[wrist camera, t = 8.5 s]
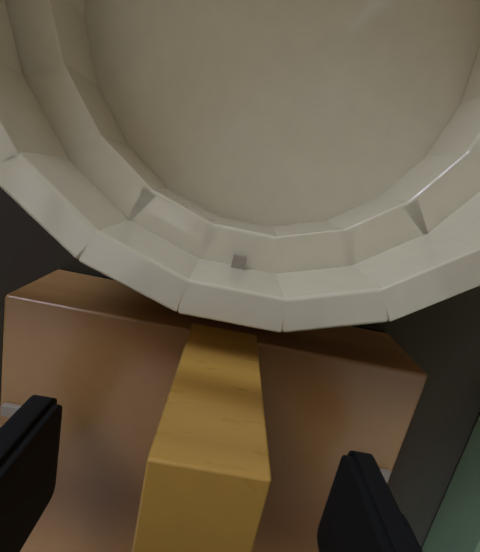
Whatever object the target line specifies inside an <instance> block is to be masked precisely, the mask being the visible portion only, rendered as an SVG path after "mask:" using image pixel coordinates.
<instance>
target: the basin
mask: <svg viewBox="0 0 480 552" xmlns="http://www.w3.org/2000/svg"><path fill="white" fill-rule="evenodd" d="M0 187H1V188H2V189H3V190H4V191H5V192H6V193H7V194H8V195H9V196H10V197H11V198H12V199H14V200H15V201H16V202H17V203H18V204H19V205H20V206H21V207H22V208H23V209H24V210H25V211H26V212H27V213H28V214H29V215H30V216H31V217H32V218H33V219H35V220H36V221H37V222H38V223H39V224H40V225H41V226H42V227H43V228H44V229H45V230H46V231H47V232H48V233H49V234H50V235H51V236H52V237H53V238H54V239H56V240H57V241H58V242H59V243H60V244H61V245H62V246H63V247H64V248H65V249H66V250H67V251H68V252H69V253H70V254H71V255H72V256H73V257H75V258H77V259H79V261H80V262H81V263H83V264H85V265H87V266H88V267H90V268H92V269H94V270H96V271H98V272H100V273H102V274H104V275H106V276H108V277H110V278H111V279H113V280H115V281H117V282H119V283H121V284H123V285H125V286H127V287H129V288H131V289H133V290H134V291H136V292H138V293H140V294H142V295H144V296H146V297H148V298H150V299H152V300H154V301H156V302H157V303H159V304H161V305H163V306H165V307H167V308H169V309H171V310H173V311H176V312H177V311H178V313H180V314H185V315H190V316H196V317H201V318H206V319H211V320H216V321H222V322H227V323H232V324H237V325H242V326H248V327H253V328H258V329H263V330H269V331H274V332H282V331H283V332H295V331H305V330H314V329H324V328H334V327H343V326H353V325H363V324H372V323H382V322H387V320H388V321H389V322H391V321H394V320H396V319H399V318H401V317H404V316H406V315H409V314H411V313H414V312H416V311H418V310H421V309H423V308H426V307H428V306H431V305H433V304H436V303H438V302H441V301H443V300H446V299H448V298H451V297H453V296H456V295H458V294H461V293H463V292H466V291H468V290H470V289H473V288H475V287H478V286H480V0H0ZM234 253H235V254H240V255H245V256H247V261H246V265H245V270H242V269H237V268H232V267H231V264H232V259H233V254H234Z"/></svg>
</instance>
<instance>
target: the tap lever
mask: <svg viewBox="0 0 480 552" xmlns="http://www.w3.org/2000/svg"><path fill="white" fill-rule="evenodd" d="M271 481H272V478H271V469H270V459H269V450H268V440H267V431H266V422H265V412H264V403H263V393H262V384H261V375H260V365H259V356H258V346H257V337H256V335H252V334H246V333H241V332H236V331H230V330H225V329H220V328H215V327H209V326H204V325H199V324H192V325H191V328H190V331H189V334H188V337H187V340H186V343H185V346H184V349H183V352H182V355H181V358H180V361H179V364H178V367H177V370H176V373H175V376H174V379H173V382H172V385H171V388H170V391H169V394H168V397H167V400H166V403H165V406H164V409H163V412H162V415H161V418H160V421H159V424H158V427H157V430H156V433H155V436H154V439H153V442H152V445H151V448H150V451H149V454H148V457H147V461H146V467H145V474H144V480H143V486H142V492H141V498H140V504H139V510H138V516H137V522H136V528H135V534H134V540H133V546H132V552H252V551H253V547H254V543H255V540H256V536H257V532H258V529H259V525H260V521H261V518H262V514H263V510H264V507H265V503H266V500H267V496H268V492H269V489H270V485H271Z"/></svg>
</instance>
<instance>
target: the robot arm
mask: <svg viewBox="0 0 480 552" xmlns="http://www.w3.org/2000/svg"><path fill="white" fill-rule="evenodd" d="M62 410H63V407H62V405H58V404H57V399H56V398H52V397H46V396H40V395H32V396H31V397H30V398H29V399H28V400H27V401H26V402H25V403H24V404H23V405H22V406H21V407H20V408H19V409H18V410H17V411H16V412H15V413H14V414H13V415H12V416H11V417H10V418H9V419H8V420H7V421H6V422H5V424H4V425H3V426H2V427H1V428H0V552H20V551H21V549H22V547H23V546H24V544H25V542H26V541H27V539H28V537H29V536H30V534H31V532H32V530H33V529H34V527H35V525H36V524H37V522H38V520H39V519H40V517H41V515H42V514H43V512H44V510H45V509H46V507H47V505H48V503H49V502H50V500H51V498H52V495H53V493H54V490H55V485H56V475H57V464H58V454H59V443H60V432H61V421H62ZM317 543H318V549H319V552H423V551H422V549H421V547H420V545H419V543H418V541H417V539H416V537H415V535H414V533H413V531H412V529H411V527H410V525H409V523H408V521H407V520H406V518H405V516H404V515H403V514H401V512H400V510H399V508H398V506H397V504H396V501H395V499H394V497H393V495H392V493H391V491H390V489H389V487H388V485H387V483H386V481H385V479H384V477H383V475H382V473H381V471H380V468H379V466H378V464H377V462H376V460H375V458H374V457H373V455H372V454H370V453H364V452H358V451H353V450H352V451H349V453H348V455H343V456H342V457H341V460H340V463H339V466H338V469H337V472H336V475H335V478H334V481H333V484H332V487H331V490H330V493H329V496H328V499H327V502H326V505H325V508H324V511H323V514H322V517H321V520H320V523H319V526H318V531H317Z"/></svg>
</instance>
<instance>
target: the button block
mask: <svg viewBox="0 0 480 552" xmlns="http://www.w3.org/2000/svg"><path fill="white" fill-rule="evenodd" d="M422 551H423V552H480V415H479V417H478V419H477V422H476V424H475V426H474V429H473V431H472V433H471V436H470V438H469V440H468V443H467V445H466V447H465V450H464V452H463V454H462V457H461V459H460V461H459V463H458V466H457V468H456V470H455V473H454V475H453V477H452V480H451V482H450V484H449V487H448V489H447V491H446V494H445V496H444V498H443V501H442V503H441V505H440V508H439V510H438V512H437V515H436V517H435V519H434V522H433V524H432V526H431V528H430V531H429V533H428V535H427V538H426V540H425V542H424V545H423V547H422Z"/></svg>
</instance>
